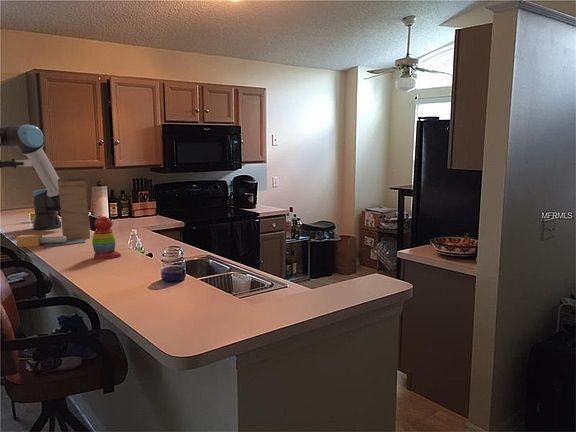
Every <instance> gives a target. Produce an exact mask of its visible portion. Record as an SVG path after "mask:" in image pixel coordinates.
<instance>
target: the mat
mask: <svg viewBox="0 0 576 432" xmlns="http://www.w3.org/2000/svg"><path fill="white" fill-rule="evenodd" d="M79 244H86V241H85V239H82V238H81V239H72V240H67V242H66V243H44V244H43V246H44V248H51V247H52V248H53V247H62V246H69V245H70V246H71V245H79Z"/></svg>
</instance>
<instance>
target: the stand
mask: <svg viewBox="0 0 576 432" xmlns="http://www.w3.org/2000/svg"><path fill="white" fill-rule="evenodd" d="M86 185H87V184H86V178H84V177H73V178H72V177H71V178H68V177H67V178H59V179H58V187H59V198H60V209H61V211H60V218H61V220H60V221H61V231H62V236H66V237H67V240H72V239H81V238H82V239H83V240H86V239H87V240H88V239H91V228H90V229H89V222H90V216H89V217H88V215H89V209H88V196H87V195H88V193H87V186H86Z"/></svg>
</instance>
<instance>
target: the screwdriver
mask: <svg viewBox="0 0 576 432" xmlns="http://www.w3.org/2000/svg"><path fill="white" fill-rule="evenodd" d="M66 242H67V237H66V236H63V235H62V236H43V234H21V235H19V236H16V247H19V248H22V247H24V248H25V247H27V248H28V247H40V246H41V245H44V243H66Z"/></svg>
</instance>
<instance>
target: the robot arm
mask: <svg viewBox="0 0 576 432" xmlns="http://www.w3.org/2000/svg"><path fill="white" fill-rule="evenodd" d="M2 147H3V148H4V147H5V148H18V150H19V152H20V153H21V154H22V155H25V156H26V157H27V159H18V160H17V159H16V160H15V158H12V159H11V160H2V159H0V169H2V168H13V169H17V168H20V167H21V168H22V167H33V168H34V171H35V172H36V174H37V175H38V177H39V180H41V182H42V184H43V185H44V187H45V188H43V189H36V190H34V191H33V192H32V200H33V201H32V202H33V208H34V219H33V224H32V229H33V230H35V231H36V230H38V231H43V230H44V231H45V230H46V231H48V230H54V229H59V228H62V220H60V217H59V215H58V212H61V209H60V198H59V187H58V179H60V177H59V175H58V174H57V171H56V170H55V168H54V167H53V164H52V163H51V161H50V159H49V158H48V156H47V154H46V153H45V150H44V133H43V131H42V130H41V129H40V128H39V127H38V126H36V125H33V124H18V125H17V124H16V125H12V124H11V125H7V126H6V125H5V126H0V148H2Z"/></svg>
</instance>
